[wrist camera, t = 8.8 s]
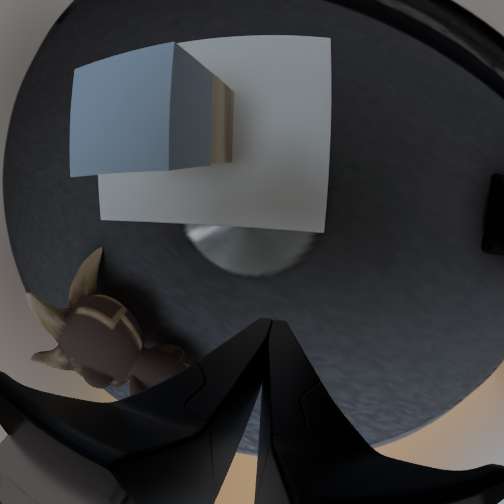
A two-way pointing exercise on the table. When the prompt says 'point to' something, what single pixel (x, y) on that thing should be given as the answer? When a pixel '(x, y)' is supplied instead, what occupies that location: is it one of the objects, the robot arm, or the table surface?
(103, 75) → the blue block
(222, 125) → the maple block
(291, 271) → the table surface
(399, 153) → the table surface
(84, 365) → the toy
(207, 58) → the board
